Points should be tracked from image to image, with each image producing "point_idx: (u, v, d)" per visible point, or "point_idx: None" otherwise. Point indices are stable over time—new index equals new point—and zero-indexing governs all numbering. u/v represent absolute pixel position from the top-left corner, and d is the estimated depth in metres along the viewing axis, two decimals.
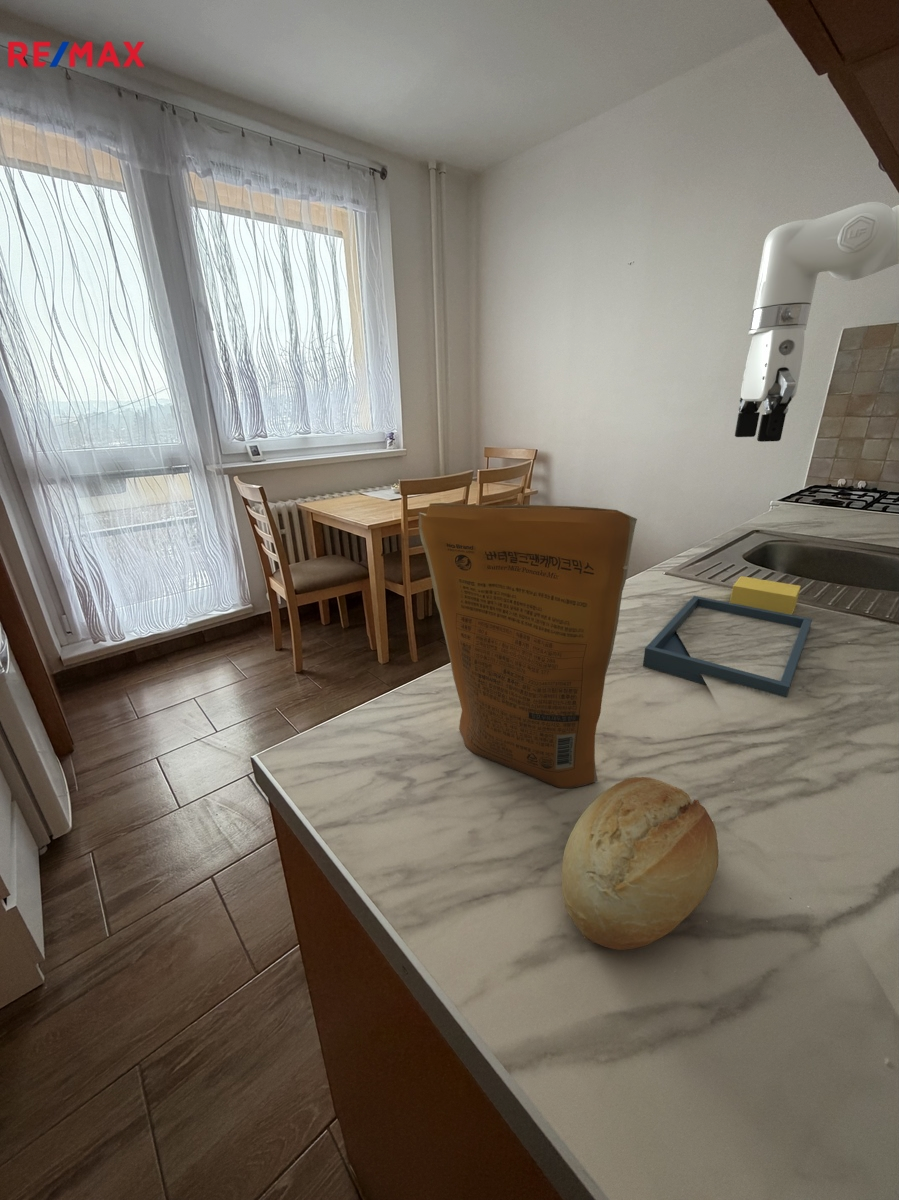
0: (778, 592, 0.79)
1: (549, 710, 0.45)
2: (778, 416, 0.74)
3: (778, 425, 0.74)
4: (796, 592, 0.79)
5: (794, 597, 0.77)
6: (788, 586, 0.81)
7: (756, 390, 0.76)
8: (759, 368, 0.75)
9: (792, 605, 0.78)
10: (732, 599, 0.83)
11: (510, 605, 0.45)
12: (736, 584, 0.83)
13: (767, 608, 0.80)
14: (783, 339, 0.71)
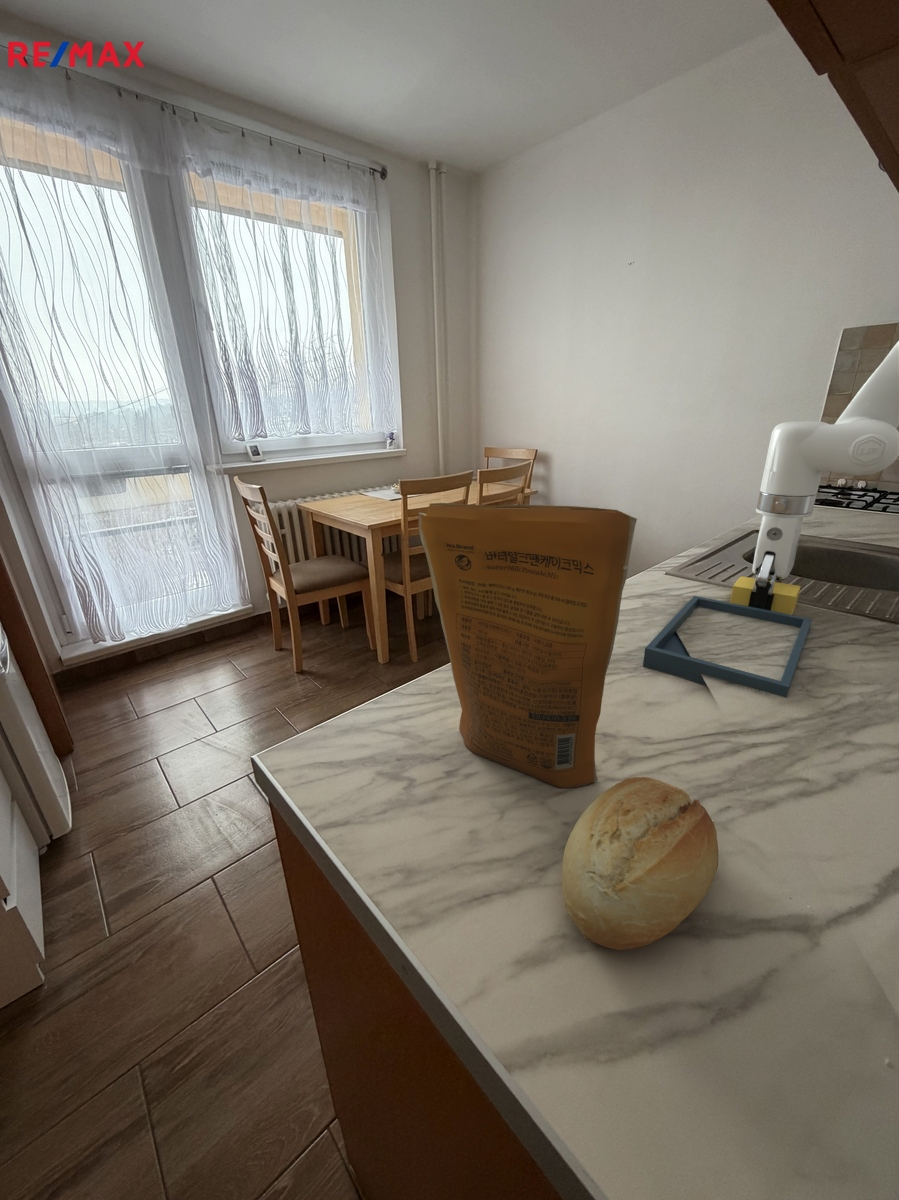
0: (778, 592, 0.79)
1: (549, 710, 0.45)
2: (763, 596, 0.79)
3: (763, 603, 0.79)
4: (796, 592, 0.79)
5: (794, 597, 0.77)
6: (787, 586, 0.81)
7: None
8: None
9: (792, 605, 0.78)
10: (732, 599, 0.83)
11: (510, 605, 0.45)
12: (736, 584, 0.83)
13: None
14: (771, 526, 0.75)
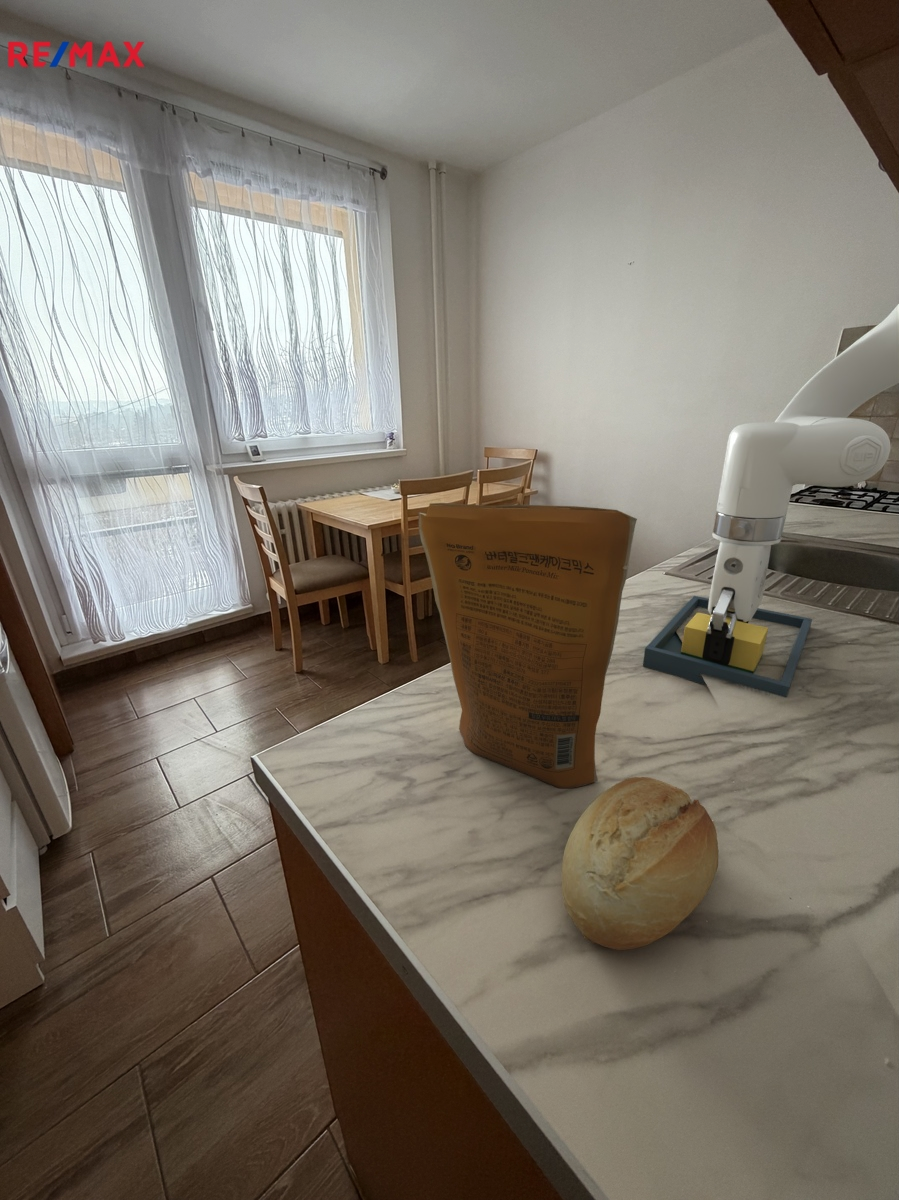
0: (738, 637, 0.63)
1: (549, 710, 0.45)
2: (720, 640, 0.62)
3: (721, 649, 0.62)
4: (761, 637, 0.63)
5: (758, 644, 0.61)
6: (752, 628, 0.65)
7: None
8: None
9: (756, 654, 0.62)
10: (684, 643, 0.67)
11: (510, 605, 0.45)
12: (689, 624, 0.67)
13: None
14: (729, 556, 0.59)
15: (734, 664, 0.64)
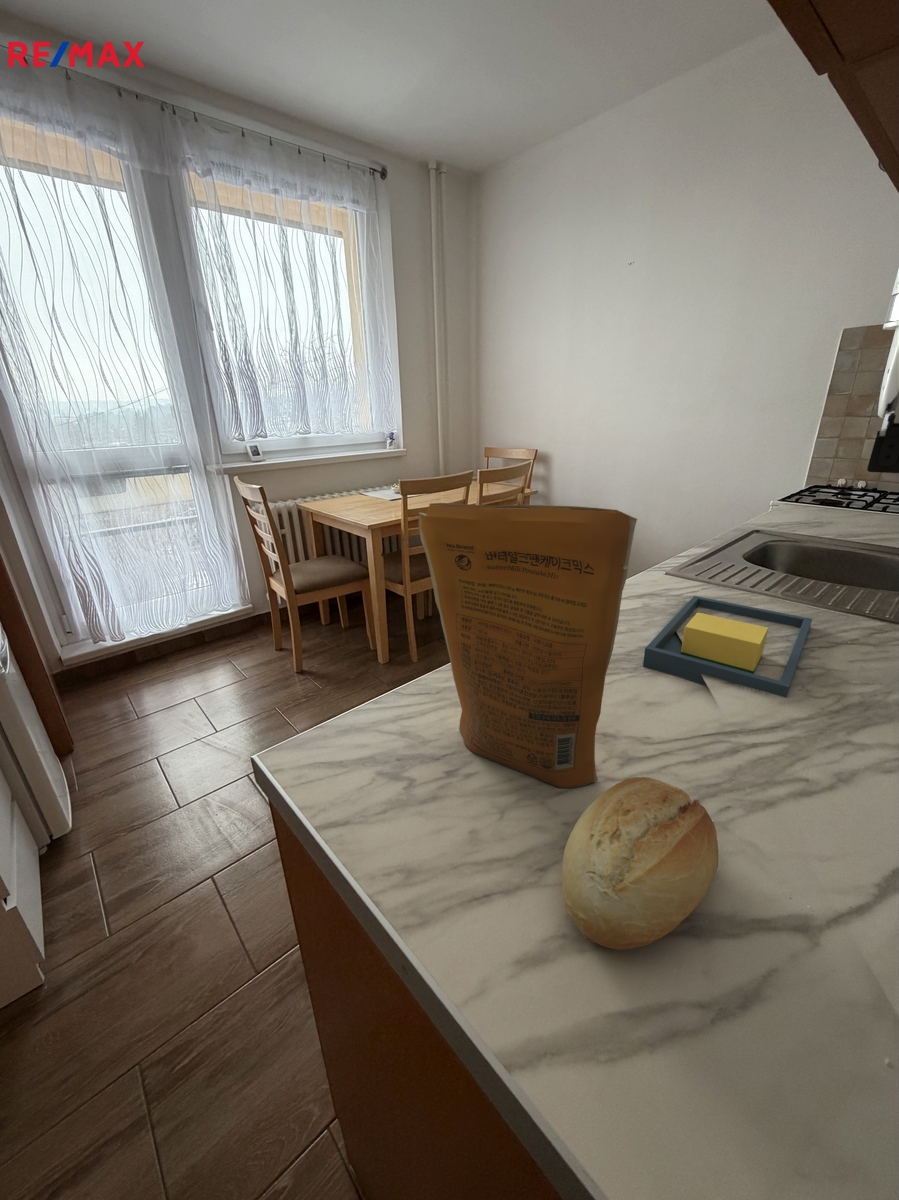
0: (738, 637, 0.63)
1: (549, 710, 0.45)
2: (896, 440, 0.55)
3: (896, 452, 0.55)
4: (761, 637, 0.63)
5: (758, 644, 0.61)
6: (752, 628, 0.65)
7: (879, 404, 0.57)
8: (885, 375, 0.56)
9: (756, 654, 0.62)
10: (684, 643, 0.67)
11: (510, 605, 0.45)
12: (689, 624, 0.67)
13: (726, 656, 0.64)
14: None
15: (734, 664, 0.64)
